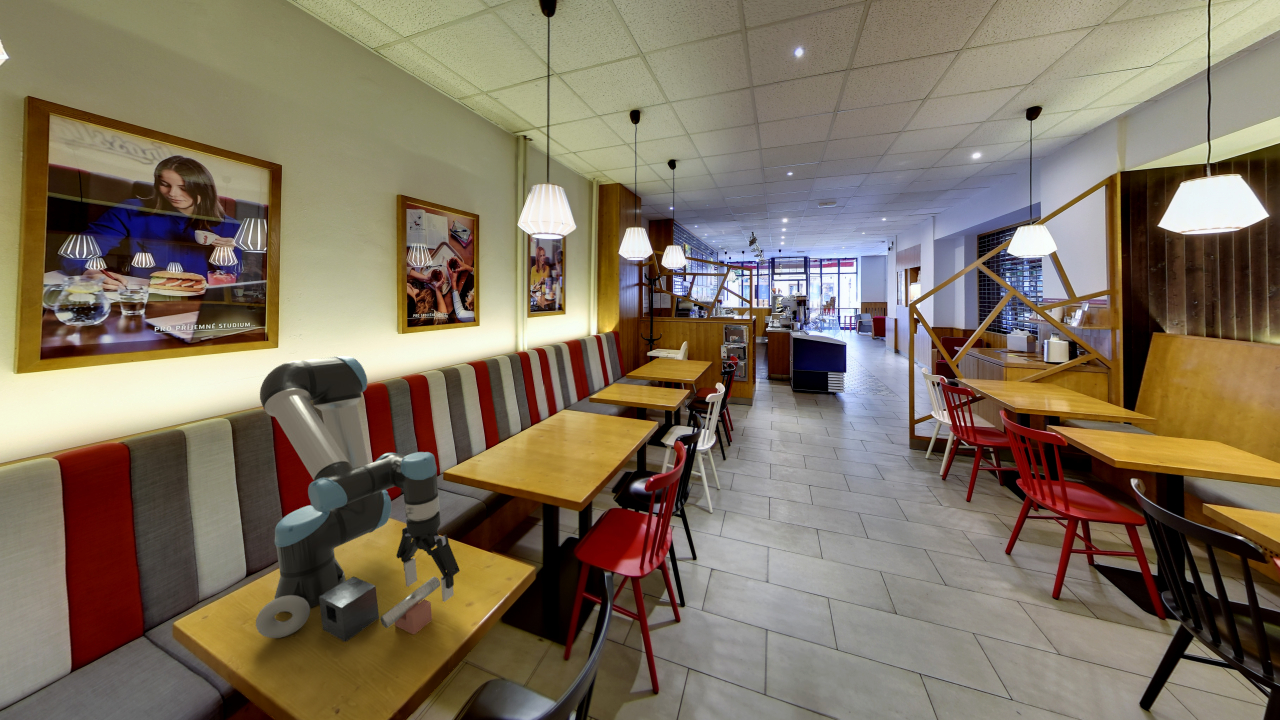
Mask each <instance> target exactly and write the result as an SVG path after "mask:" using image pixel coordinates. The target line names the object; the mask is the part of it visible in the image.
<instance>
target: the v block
mask: <svg viewBox="0 0 1280 720" xmlns="http://www.w3.org/2000/svg"><path fill="white" fill-rule="evenodd" d="M432 615H433V614H432V602H431V601H429V600H427V599H425V598H424V599H423V600H422V601H421V602H419V603H418V604H417V605H416V606H414V607H413V608H412V609H411V610H409V611H408V612H407V613H406V614H404V615H403V616H402V617H401V618H399V619H398V620H397V621H396V622H394V623H393V624H394V626H395V627H397V628H399V629H401V630H404V631H406V632H407V633H409V634H412V635H416V634H417V633H418V632H419V631H421V629H423V628H424V627H425V626H426V625H428V624H429V623H430V622H431V621H433V616H432Z"/></svg>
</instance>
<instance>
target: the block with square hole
mask: <svg viewBox="0 0 1280 720" xmlns="http://www.w3.org/2000/svg"><path fill="white" fill-rule="evenodd" d="M377 594H378V593H377V586H376V585H374V584H372V583H371V582H368V581H366V580H363V579H360V578H358V577H356V576H352V577H350V578H348V579H345V582H343V583H341V584H340V585H338V586H336V587H334V588H333V589H331V590H329V591H328V592H326V593H324V594H322V595H321V596H319V602H320V604H319V609H320V610H319V611H320V616H321V625H322V630H323V631H324V632H327V634H330V635H332V636H333V637H336V639H339V640H341V641H343V642H344V643H346V642H348V641H349V640H351V639H352V638H354V637H355V636H356V635H358V634H359V633H360V632H362V631H363V630H365V629H366V628H367V627H369V626H370V625H372V624H373V623H374V622H375V621H377V620H378V619H380V613H379V603H378V595H377Z"/></svg>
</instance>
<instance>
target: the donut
mask: <svg viewBox="0 0 1280 720" xmlns="http://www.w3.org/2000/svg"><path fill="white" fill-rule="evenodd" d="M284 611H287V612H286V613H290V614H291V617H290V618H289V619H288V620H285V621H284V620H283V621H281V620H277V619H276V616H277V614H279V613H285V612H284ZM310 613H311V608H310V606H309V604H308V602H307V601H306V600H305V599H304V598H302V597H299V596H294V595H288V596H282V597H279V598H277V599H275V598H274V599H272V600H271V601H270V602H268V603H266V604H265V605H264V606H263V607H262V608H261V610H260V611H259V612H258V614H257V616H256V620H255V627H256V630H257V632H258V633H259V634H260V635H262V636H263V637H265V638H268V639H280V638H284V637H288V636H290V635H292V634H294V633H295V632H297V631H298V630H300V629H301V628H302V627H303V626H304V625H305V624H306V623H307V621H308V618H309V617H310Z"/></svg>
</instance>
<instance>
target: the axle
mask: <svg viewBox="0 0 1280 720" xmlns="http://www.w3.org/2000/svg"><path fill="white" fill-rule="evenodd" d="M440 586H441V580H440V579H439V578H438V577H437V576H432V577H431V578H430V579H428V580H427V581H426V582H425V583H423V584H422V585H421V586H420V587H419V586H418V588H417V589H415V590H414V591H412V593H409V595H407V596H406V597H405V598H404V599H402V600H401V601H400V602H398V603H397V604H395V605H394V606H393V607H392V608H391V609H389V610H388V611H386V612H385V613H384V614H383V615H381V616H380V617H379V620H380V623H381V625H382V626H383V627H384V628H386V629H388V628H389V627H391V626H392V625H393V624H395V623H394V622H396V621H397V620H398V619H399V618H401V617H402V616H403V615H404V614H406V613H407V612H408V611H409V610H411V609H412V608H413V607H414V606H416V605H417V604H419V603H420V602H421V601H423V600H424V599H425V598H427V597H429V595H430V594H432V593H433V592H434V591H436V590H437V589H438V588H439V587H440Z"/></svg>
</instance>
